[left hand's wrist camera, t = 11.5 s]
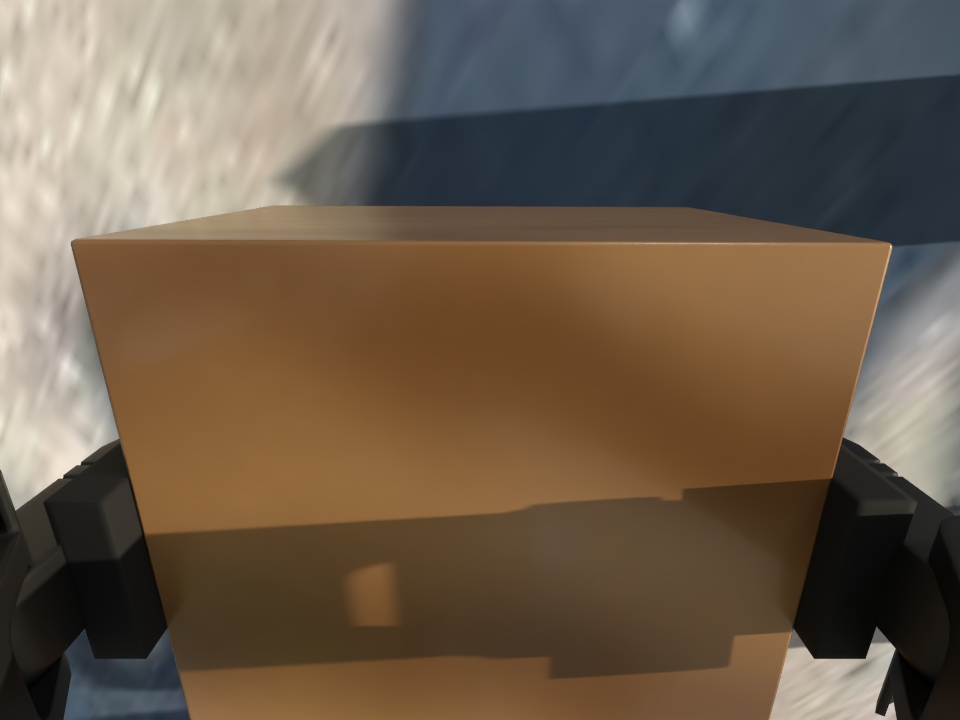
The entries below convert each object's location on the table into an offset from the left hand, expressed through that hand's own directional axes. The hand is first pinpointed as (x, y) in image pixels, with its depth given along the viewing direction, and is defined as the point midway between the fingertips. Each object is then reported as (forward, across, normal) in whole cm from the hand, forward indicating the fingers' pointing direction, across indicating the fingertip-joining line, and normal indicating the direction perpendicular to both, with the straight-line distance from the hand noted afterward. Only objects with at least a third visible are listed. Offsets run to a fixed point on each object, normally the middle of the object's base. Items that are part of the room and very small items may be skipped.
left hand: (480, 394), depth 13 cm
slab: (0, 0, -23) cm, 23 cm away
